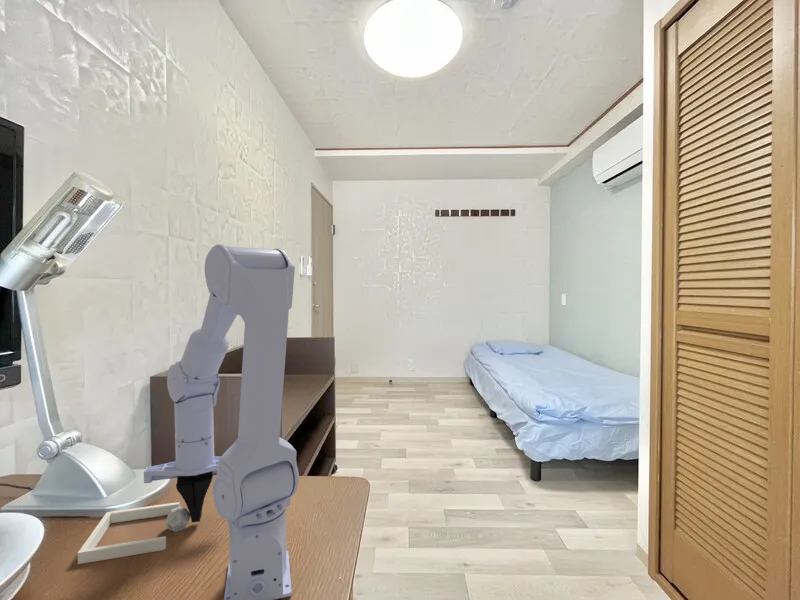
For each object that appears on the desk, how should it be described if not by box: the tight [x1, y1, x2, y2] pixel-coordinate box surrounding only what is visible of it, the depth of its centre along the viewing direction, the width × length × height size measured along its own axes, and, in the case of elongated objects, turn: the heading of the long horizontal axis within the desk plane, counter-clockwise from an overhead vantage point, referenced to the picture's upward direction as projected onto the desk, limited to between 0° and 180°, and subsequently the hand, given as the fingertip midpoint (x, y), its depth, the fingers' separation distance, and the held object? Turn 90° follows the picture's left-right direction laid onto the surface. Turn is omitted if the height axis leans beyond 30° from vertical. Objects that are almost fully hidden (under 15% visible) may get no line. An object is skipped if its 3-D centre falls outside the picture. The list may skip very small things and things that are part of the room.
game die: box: [164, 505, 191, 533], centre depth 70 cm, size 4×4×3 cm
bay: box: [77, 501, 181, 565], centre depth 68 cm, size 12×11×2 cm
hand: (196, 519), depth 71 cm, fingers closed
